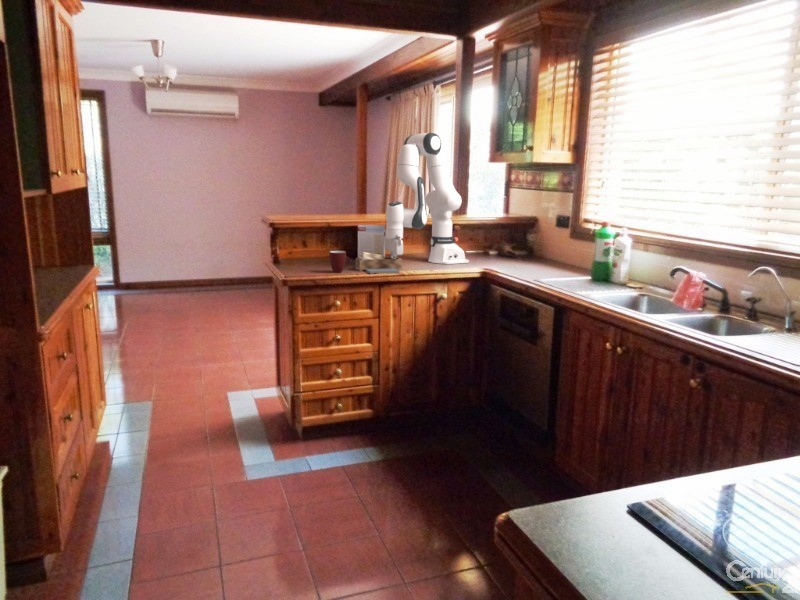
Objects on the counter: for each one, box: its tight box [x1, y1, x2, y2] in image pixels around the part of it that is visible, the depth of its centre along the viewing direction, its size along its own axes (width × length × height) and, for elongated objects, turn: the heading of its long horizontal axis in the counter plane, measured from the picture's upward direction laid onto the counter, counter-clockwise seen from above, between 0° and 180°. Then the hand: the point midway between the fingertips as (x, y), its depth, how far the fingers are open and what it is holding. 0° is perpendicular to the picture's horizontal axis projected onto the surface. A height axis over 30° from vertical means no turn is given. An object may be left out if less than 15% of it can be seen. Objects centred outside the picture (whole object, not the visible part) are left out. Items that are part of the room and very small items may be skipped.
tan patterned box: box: [355, 256, 403, 272], centre depth 311 cm, size 22×8×6 cm, turn 109°
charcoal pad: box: [365, 268, 400, 275], centre depth 303 cm, size 15×8×1 cm, turn 109°
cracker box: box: [357, 224, 386, 258], centre depth 326 cm, size 14×6×21 cm, turn 84°
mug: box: [329, 250, 351, 274], centre depth 300 cm, size 10×8×10 cm
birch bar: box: [361, 252, 386, 260], centre depth 309 cm, size 11×4×2 cm, turn 109°
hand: (393, 261), depth 314 cm, fingers closed, pressing on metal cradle
